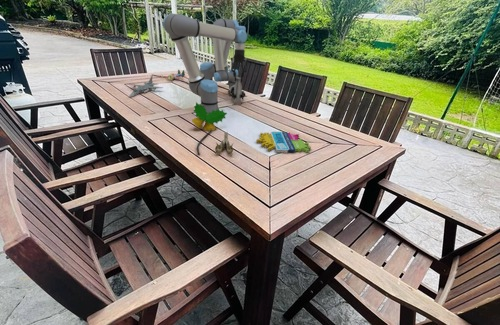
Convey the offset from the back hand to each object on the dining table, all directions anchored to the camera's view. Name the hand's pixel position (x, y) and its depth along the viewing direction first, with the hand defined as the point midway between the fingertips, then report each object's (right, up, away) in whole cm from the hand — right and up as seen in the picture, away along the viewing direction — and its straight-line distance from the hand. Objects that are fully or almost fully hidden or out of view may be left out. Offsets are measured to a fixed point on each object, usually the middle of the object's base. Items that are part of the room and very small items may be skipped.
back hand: (238, 97), depth 207 cm
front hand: (0, +13, -1) cm, 13 cm away
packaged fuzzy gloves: (+28, -40, -55) cm, 73 cm away
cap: (0, +15, -2) cm, 15 cm away
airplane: (-84, +11, +22) cm, 87 cm away
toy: (-71, +39, +74) cm, 110 cm away
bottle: (-1, -3, +8) cm, 8 cm away
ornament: (-17, -30, -43) cm, 55 cm away
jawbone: (-5, -46, -69) cm, 83 cm away
